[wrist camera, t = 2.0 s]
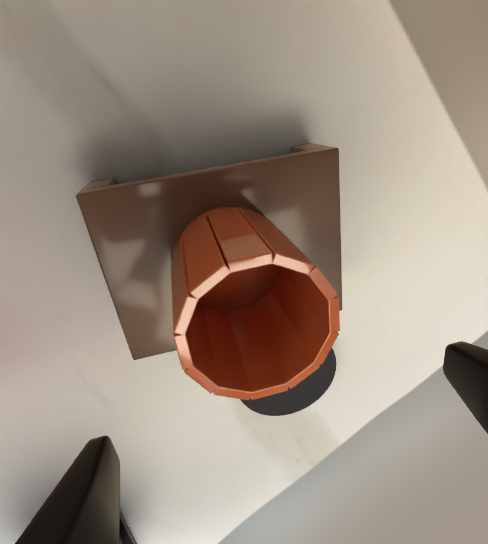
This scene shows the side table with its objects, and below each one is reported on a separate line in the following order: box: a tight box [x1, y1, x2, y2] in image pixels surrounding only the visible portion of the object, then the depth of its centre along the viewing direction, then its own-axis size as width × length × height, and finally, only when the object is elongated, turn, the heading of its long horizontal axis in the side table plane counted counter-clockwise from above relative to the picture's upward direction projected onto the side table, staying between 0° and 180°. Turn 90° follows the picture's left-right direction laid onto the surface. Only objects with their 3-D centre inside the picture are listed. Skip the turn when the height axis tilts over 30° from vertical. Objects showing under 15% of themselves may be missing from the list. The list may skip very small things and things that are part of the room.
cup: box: [171, 207, 340, 400], centre depth 14 cm, size 6×6×6 cm
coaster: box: [241, 347, 336, 416], centre depth 25 cm, size 8×8×1 cm
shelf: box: [76, 143, 342, 360], centre depth 19 cm, size 9×12×4 cm
